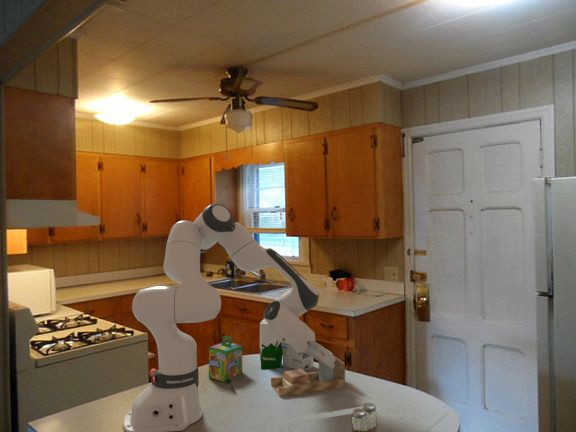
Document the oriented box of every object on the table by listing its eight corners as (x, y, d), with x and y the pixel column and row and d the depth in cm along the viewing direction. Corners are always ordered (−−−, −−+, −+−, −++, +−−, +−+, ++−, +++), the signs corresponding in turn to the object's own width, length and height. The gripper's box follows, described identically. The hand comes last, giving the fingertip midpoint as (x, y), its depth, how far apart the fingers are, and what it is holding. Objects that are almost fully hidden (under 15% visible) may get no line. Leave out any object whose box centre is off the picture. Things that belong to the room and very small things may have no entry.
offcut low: (288, 393, 143) (288, 385, 143) (282, 385, 150) (282, 378, 150) (311, 389, 146) (311, 382, 146) (304, 382, 152) (304, 375, 152)
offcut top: (291, 384, 144) (291, 377, 144) (284, 378, 150) (283, 371, 150) (308, 381, 147) (308, 374, 147) (300, 375, 152) (300, 368, 152)
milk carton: (284, 363, 176) (283, 313, 176) (280, 371, 167) (279, 319, 167) (263, 362, 177) (262, 313, 177) (258, 370, 168) (257, 318, 168)
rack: (279, 400, 141) (279, 371, 141) (270, 388, 150) (270, 361, 150) (345, 390, 148) (344, 363, 148) (333, 379, 158) (332, 354, 158)
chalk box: (208, 378, 160) (207, 338, 160) (225, 371, 168) (224, 332, 168) (226, 383, 155) (226, 342, 155) (243, 375, 163) (243, 336, 163)
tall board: (325, 386, 148) (324, 354, 148) (319, 381, 153) (318, 349, 153) (333, 385, 149) (332, 353, 149) (326, 380, 154) (326, 349, 154)
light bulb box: (314, 369, 168) (313, 341, 168) (303, 374, 163) (303, 346, 163) (293, 363, 175) (292, 337, 175) (281, 368, 170) (281, 340, 170)
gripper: (322, 339, 139) (349, 365, 143) (294, 324, 157) (318, 348, 162) (310, 355, 137) (337, 381, 141) (283, 338, 156) (308, 362, 160)
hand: (327, 363), depth 152 cm, fingers closed on tall board, 6 cm apart
